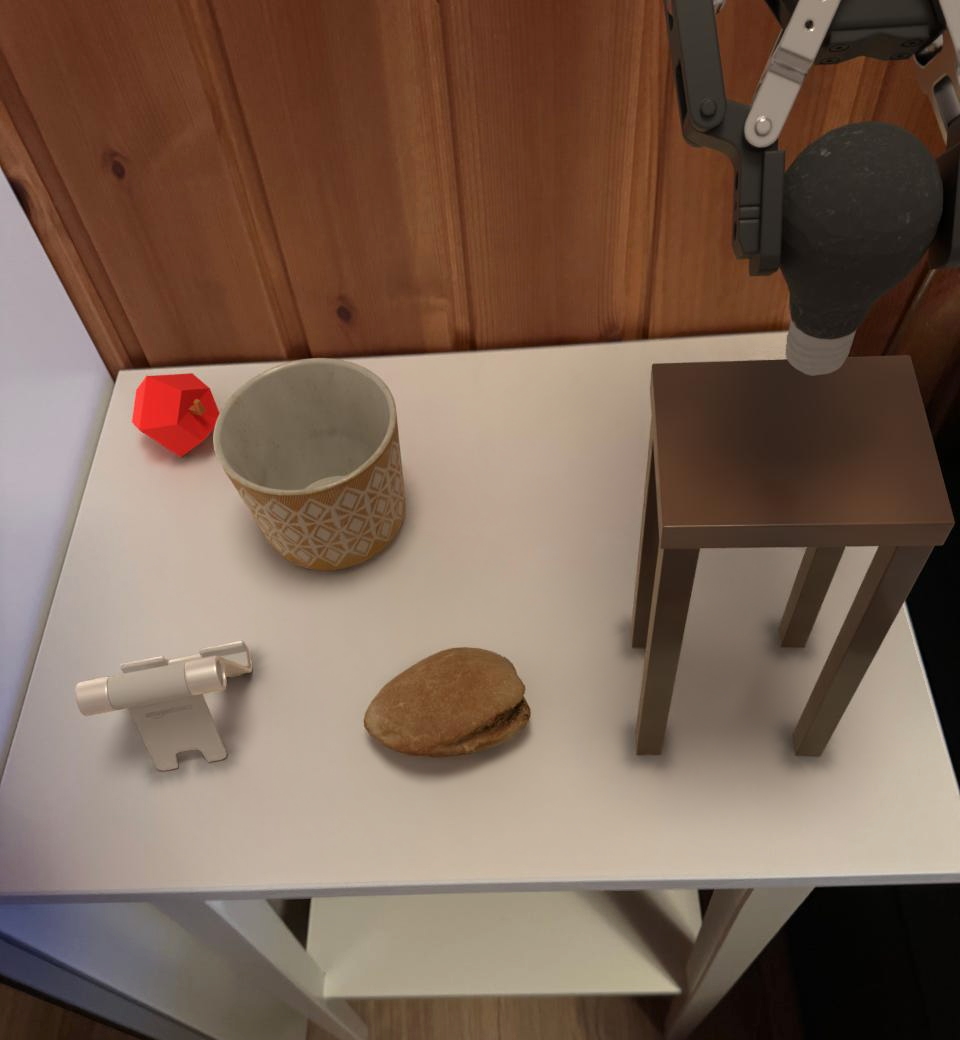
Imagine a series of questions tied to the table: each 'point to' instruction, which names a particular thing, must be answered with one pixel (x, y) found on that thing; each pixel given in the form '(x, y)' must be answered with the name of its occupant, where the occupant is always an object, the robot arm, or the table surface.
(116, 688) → the tablet stand
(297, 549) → the planter
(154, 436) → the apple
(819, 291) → the light bulb
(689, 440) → the walnut stand
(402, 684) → the stone
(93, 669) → the table surface
